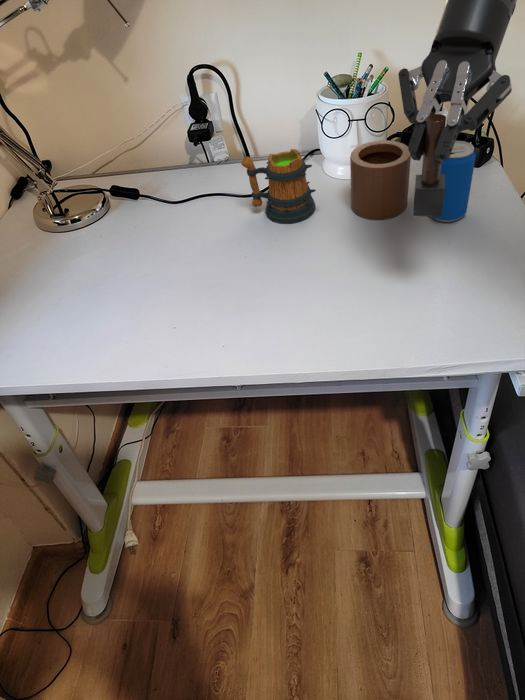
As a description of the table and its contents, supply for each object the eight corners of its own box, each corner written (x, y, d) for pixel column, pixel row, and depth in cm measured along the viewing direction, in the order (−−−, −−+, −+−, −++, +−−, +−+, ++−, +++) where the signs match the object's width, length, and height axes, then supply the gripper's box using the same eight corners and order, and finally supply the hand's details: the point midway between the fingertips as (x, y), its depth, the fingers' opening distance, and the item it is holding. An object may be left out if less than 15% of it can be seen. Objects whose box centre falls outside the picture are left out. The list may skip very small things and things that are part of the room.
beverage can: (424, 206, 92) (430, 142, 84) (461, 202, 92) (471, 137, 83) (431, 226, 88) (438, 160, 79) (469, 222, 87) (481, 155, 79)
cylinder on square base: (441, 201, 68) (452, 110, 60) (441, 216, 66) (453, 123, 57) (413, 201, 69) (420, 112, 61) (413, 216, 67) (419, 124, 58)
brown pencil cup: (408, 190, 97) (411, 139, 90) (406, 220, 90) (410, 167, 83) (354, 191, 100) (353, 141, 93) (348, 220, 93) (347, 168, 86)
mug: (316, 194, 101) (312, 136, 93) (317, 222, 94) (313, 163, 86) (251, 200, 103) (242, 145, 94) (248, 228, 96) (237, 171, 87)
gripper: (412, -10, 59) (363, 140, 61) (541, -12, 52) (480, 157, 54) (426, 28, 65) (382, 162, 68) (543, 30, 58) (488, 179, 61)
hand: (426, 159), depth 61 cm, fingers closed on cylinder on square base, 2 cm apart
